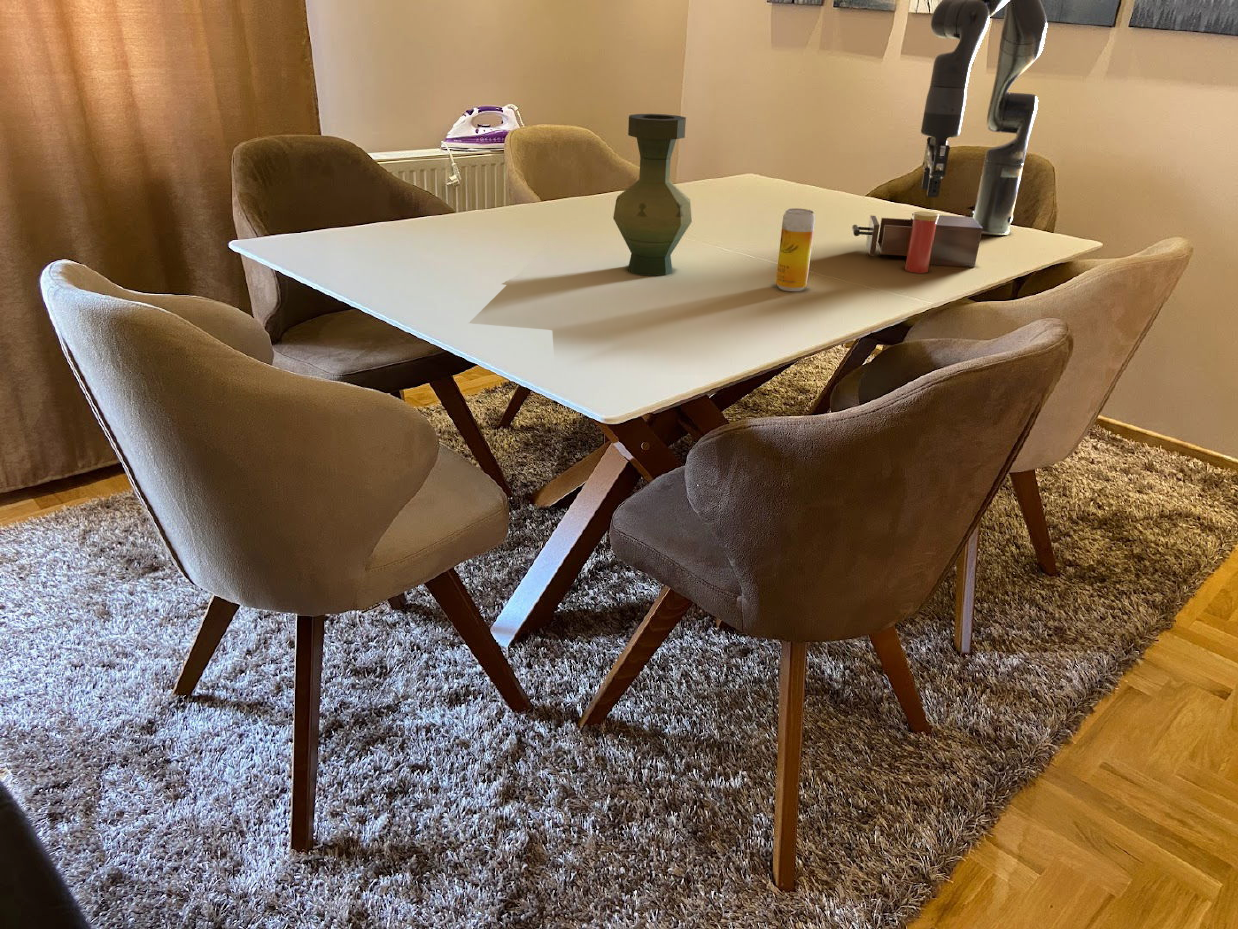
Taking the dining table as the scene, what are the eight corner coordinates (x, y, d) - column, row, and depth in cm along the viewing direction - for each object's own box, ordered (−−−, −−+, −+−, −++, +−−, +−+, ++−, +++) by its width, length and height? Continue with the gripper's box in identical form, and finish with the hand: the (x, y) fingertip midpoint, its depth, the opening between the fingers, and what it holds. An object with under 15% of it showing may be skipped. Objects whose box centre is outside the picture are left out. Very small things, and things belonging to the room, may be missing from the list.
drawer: (851, 254, 207) (856, 223, 204) (848, 243, 216) (852, 214, 213) (926, 259, 205) (932, 228, 202) (920, 248, 214) (925, 218, 211)
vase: (697, 265, 197) (708, 115, 183) (677, 283, 183) (687, 124, 170) (625, 256, 201) (630, 110, 188) (600, 274, 188) (603, 117, 174)
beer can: (772, 283, 186) (780, 207, 179) (801, 283, 186) (811, 208, 180) (779, 291, 180) (788, 214, 174) (809, 292, 181) (819, 214, 174)
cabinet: (911, 262, 205) (918, 223, 201) (905, 250, 215) (911, 213, 211) (974, 267, 203) (982, 227, 199) (965, 254, 213) (972, 217, 210)
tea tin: (903, 266, 202) (912, 210, 196) (926, 267, 201) (936, 212, 196) (905, 272, 197) (915, 215, 192) (929, 273, 197) (940, 216, 191)
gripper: (969, 115, 178) (953, 200, 185) (957, 107, 191) (942, 188, 198) (929, 113, 179) (915, 198, 186) (920, 105, 192) (906, 186, 199)
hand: (929, 193), depth 192 cm, fingers open, 8 cm apart
